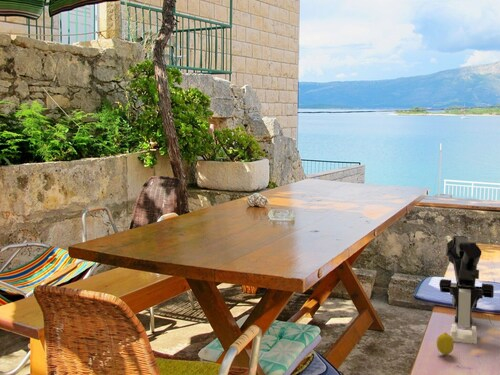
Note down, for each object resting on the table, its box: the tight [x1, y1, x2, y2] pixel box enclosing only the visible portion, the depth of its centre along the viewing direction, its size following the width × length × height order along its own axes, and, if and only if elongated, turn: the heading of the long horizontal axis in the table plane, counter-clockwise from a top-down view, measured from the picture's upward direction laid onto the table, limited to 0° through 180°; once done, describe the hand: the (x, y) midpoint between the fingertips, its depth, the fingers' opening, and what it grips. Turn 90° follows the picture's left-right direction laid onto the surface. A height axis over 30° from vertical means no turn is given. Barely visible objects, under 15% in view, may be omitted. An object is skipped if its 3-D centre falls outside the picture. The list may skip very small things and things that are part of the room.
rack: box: [450, 323, 478, 345], centre depth 219 cm, size 9×9×4 cm
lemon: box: [436, 332, 455, 356], centre depth 204 cm, size 6×6×8 cm
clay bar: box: [457, 289, 471, 328], centre depth 218 cm, size 4×4×13 cm
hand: (464, 309), depth 217 cm, fingers closed on clay bar, 4 cm apart
